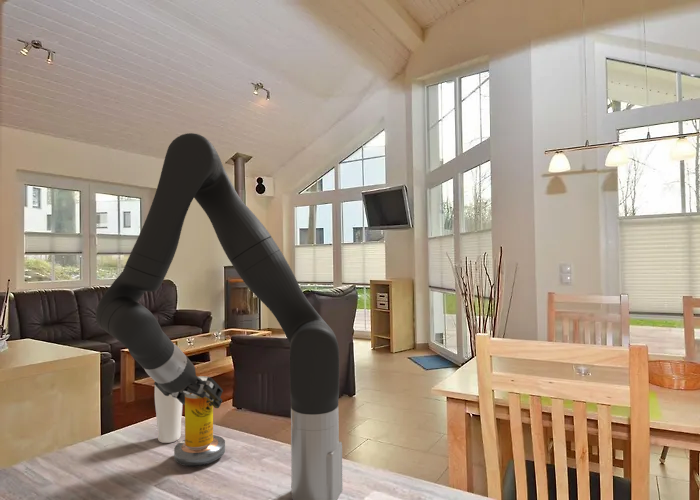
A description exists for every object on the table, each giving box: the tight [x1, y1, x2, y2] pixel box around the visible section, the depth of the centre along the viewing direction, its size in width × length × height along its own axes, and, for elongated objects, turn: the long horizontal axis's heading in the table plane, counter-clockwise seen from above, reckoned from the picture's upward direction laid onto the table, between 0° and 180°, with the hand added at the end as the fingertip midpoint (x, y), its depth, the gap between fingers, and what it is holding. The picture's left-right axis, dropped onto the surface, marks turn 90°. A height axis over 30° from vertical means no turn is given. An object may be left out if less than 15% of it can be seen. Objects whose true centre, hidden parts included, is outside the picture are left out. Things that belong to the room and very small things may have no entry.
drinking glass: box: [154, 385, 184, 444], centre depth 109 cm, size 7×7×15 cm
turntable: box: [173, 434, 226, 467], centre depth 99 cm, size 11×11×2 cm
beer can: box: [184, 375, 214, 450], centre depth 99 cm, size 6×6×15 cm
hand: (202, 402), depth 100 cm, fingers open, 8 cm apart
